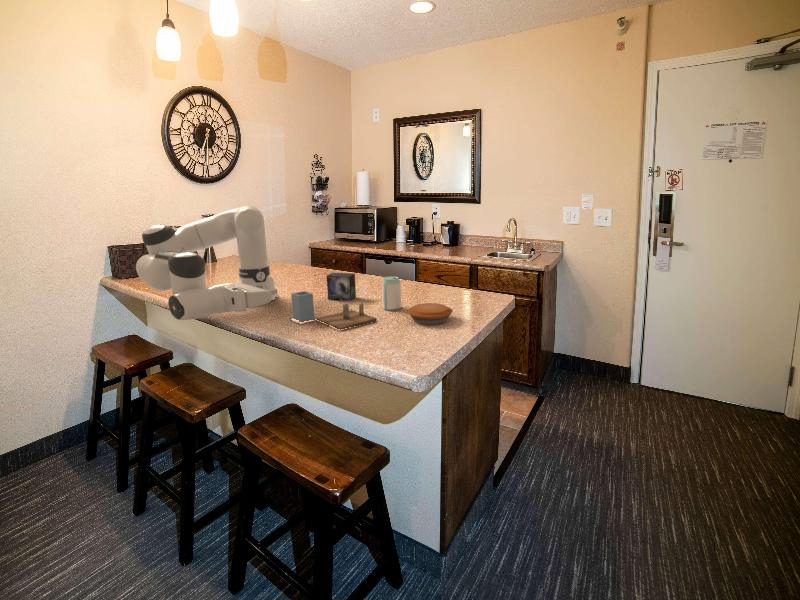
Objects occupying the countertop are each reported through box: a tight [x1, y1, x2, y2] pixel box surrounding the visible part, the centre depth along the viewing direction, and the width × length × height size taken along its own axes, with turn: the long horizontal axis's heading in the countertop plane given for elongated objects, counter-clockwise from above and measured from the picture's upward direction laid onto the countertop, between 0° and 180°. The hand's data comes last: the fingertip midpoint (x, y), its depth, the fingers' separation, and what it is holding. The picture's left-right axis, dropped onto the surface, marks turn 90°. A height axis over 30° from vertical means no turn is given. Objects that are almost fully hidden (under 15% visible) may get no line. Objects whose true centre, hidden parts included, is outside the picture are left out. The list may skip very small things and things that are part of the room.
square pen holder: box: [290, 290, 318, 322], centre depth 158 cm, size 7×7×10 cm
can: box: [381, 275, 402, 311], centre depth 171 cm, size 7×7×12 cm
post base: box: [316, 302, 378, 330], centre depth 156 cm, size 15×15×6 cm
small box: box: [326, 272, 357, 301], centre depth 188 cm, size 11×6×10 cm, turn 73°
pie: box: [407, 302, 453, 326], centre depth 156 cm, size 16×16×5 cm
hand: (268, 289), depth 148 cm, fingers open, 8 cm apart
